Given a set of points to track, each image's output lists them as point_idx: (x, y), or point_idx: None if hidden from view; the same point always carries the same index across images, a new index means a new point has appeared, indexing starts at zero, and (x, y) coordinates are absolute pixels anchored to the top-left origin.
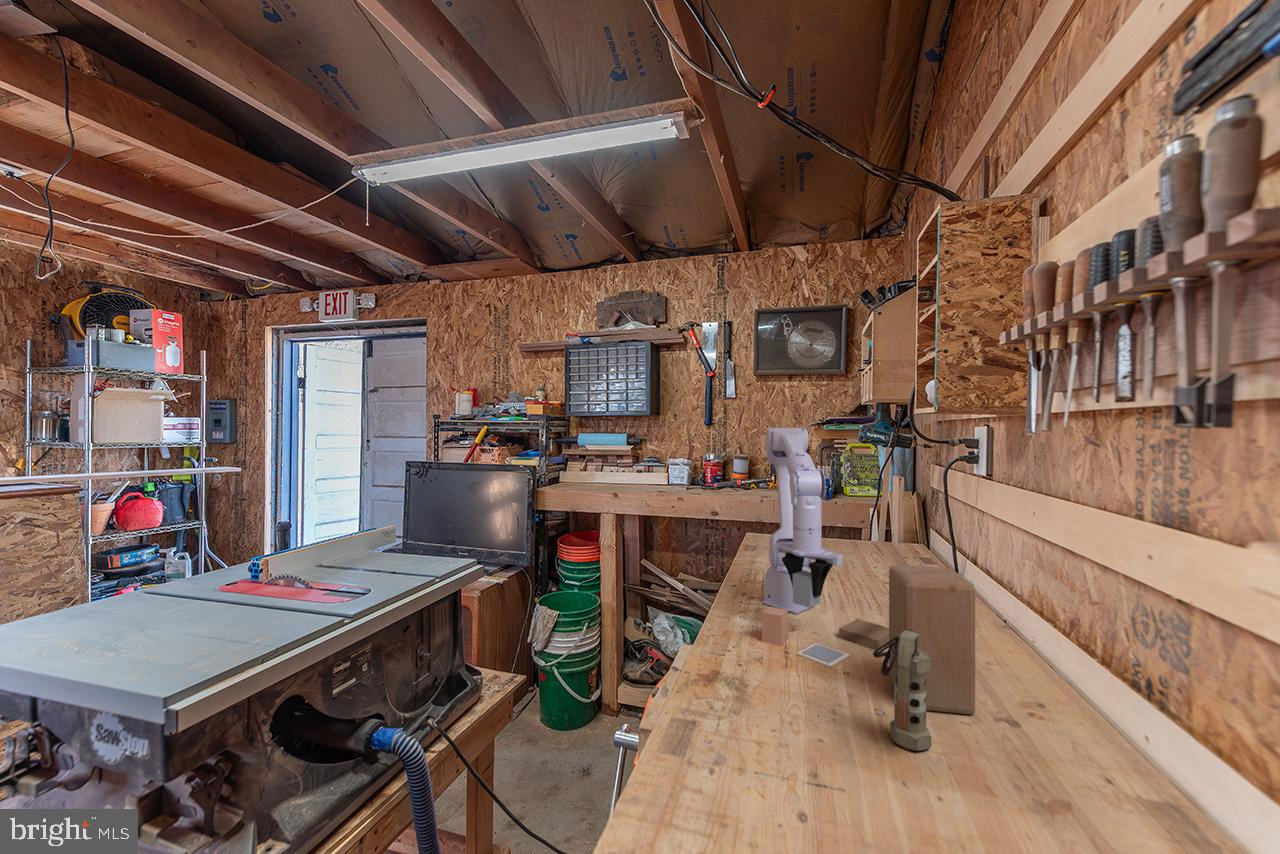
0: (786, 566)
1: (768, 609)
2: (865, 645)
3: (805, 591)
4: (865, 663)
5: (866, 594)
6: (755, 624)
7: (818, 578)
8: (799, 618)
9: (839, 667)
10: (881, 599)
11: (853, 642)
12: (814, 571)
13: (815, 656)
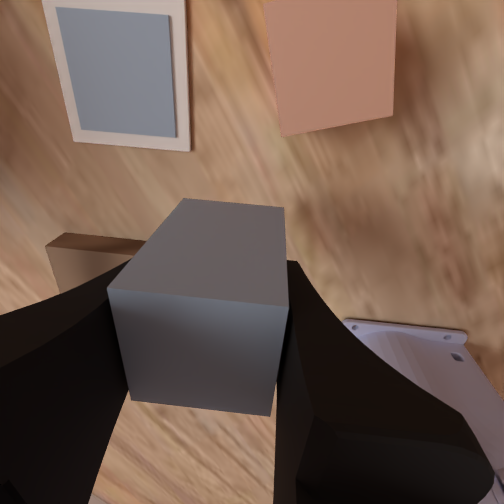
0: (377, 366)
1: (377, 61)
2: (96, 237)
3: (189, 233)
4: (21, 125)
5: (263, 474)
6: (436, 164)
7: (40, 304)
8: (324, 299)
9: (33, 20)
10: (229, 466)
11: (131, 240)
12: (7, 336)
13: (114, 16)
